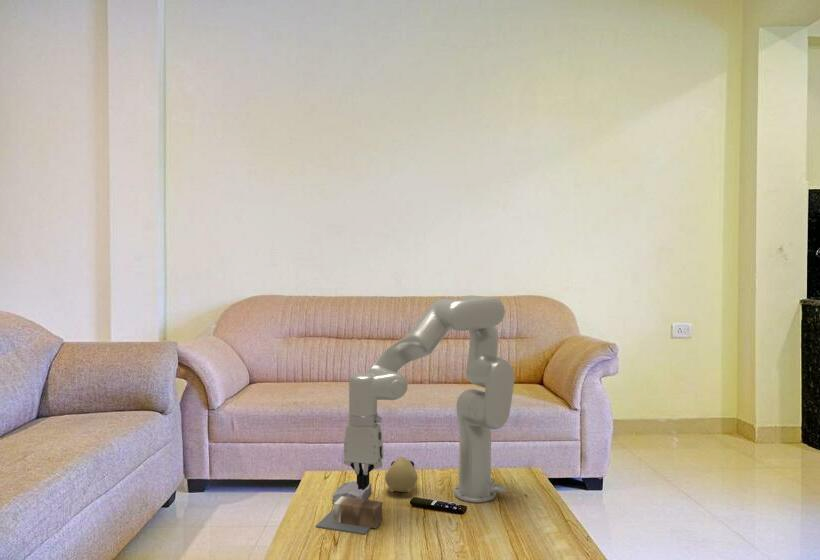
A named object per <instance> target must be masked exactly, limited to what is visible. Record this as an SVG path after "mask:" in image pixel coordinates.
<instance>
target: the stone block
mask: <svg viewBox="0 0 820 560" xmlns="http://www.w3.org/2000/svg"><path fill="white" fill-rule="evenodd" d="M372 489H373V488H372V483H371V482H369V485H368V487H367V488H366V489H365V490H362V489H358V485H357V480H352V481H347V482H344V483H342V484H341V485H340V486H338V487H337V488H336V490H335V492H334V493H333V494H332V501H333V504H334V503H335V502H336V501H337V500H338V499H339V498H340V497H341V496H343V497H351V498H358V499H366V500H368V499H369V497H370V495H371V493H372Z"/></svg>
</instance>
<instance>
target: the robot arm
mask: <svg viewBox="0 0 820 560" xmlns="http://www.w3.org/2000/svg"><path fill="white" fill-rule="evenodd" d="M505 309H506V308H505V306H504V304H503V302H502V301H501V300H500V299H498V298H496V297H493V296H482V295H465V296H463V297H461V298H459V299H451V298H450V299H449V298H438V299H436V300H434V302H432V304H431V305H430V306H429V307H428V308H427V310H426V311H424V313H423V314H422V315H421V317H420V318H419V320H418V321H417V322H416V323H415V325H414V326H413V327H412V328H411V330H410V331H409V332H408V333H407V334H406V335H405V336H404V337H402V338H401V339H399V340H397V341H396V342H395V343H393V344H392V345H390V346H389V347H388V348H387V349H386V350H384V351H383V352H382V353H381V354H380V355H379V357H378V358H376V360H375V361H374V362H373V363H372V365H371V366H370V367H369V369H368V371H367V372H355V373H353V374H351V375H350V376H349V379H348V423H347V424H346V427H345V431H344V432H345V433H344V439H343V458H344V459H343V464H344V465H347V466H348V467H351V468H352V469H353V471H354V473H355V475H356V481H357V485H358V489H362V490H365V489H366V488H367V487H368V485H369V483H370V472H371V471H372V470H377V469H381V468H382V467H383V461H382V460H383V459H384V454H385V453H384V440H383V432H382V428H381V427H382V426H381V424H380V423H382V422H383V416H379V414H378V401H382V400H383V401H396V400H399V399H401V398H402V397H404V396H405V395H406V393H407V391H408V387H409V386H408V385H409V384H408V380H407V378H405V376H403V374H401V373H400V372H398V371H399V370H400V369H401V368H402V367H404V366H405V365H407V364H409V363H410V362H413V361H416V360H419V359H422V358H425V357H427V356H430V355H431V354H432V353H433V352H434V351H435V349H436V347H437V346H438V345H439V343H441V341H442V340H443V338H444V337H445V336H446V334H447V333H448V332H449V331H450V330H453V331H457V332H458V331H461V332H462V331H463V332H464V331H468V333H469V348H468V354H467V360H466V361H467V363H466V369H465V370H466V371H465V375H466V379H467V380H468V382H469V383H471V384H473V385H475V386H477V387H481V388H484V391H482V390H479V389H473V388H471V389H465V390H464V391H462V392H461V393H460V394H459V396H458V398H457V401H456V405H455V406H456V415H457V419H458V429H459V430H458V431H459V447H458V448H459V451H458V452H459V455H458V456H459V457H458V459H459V463H458V464H459V465H458V466H459V467H458V469H459V471H458V474H459V475H458V476H459V477H458V483H459V484H458V485H456V486H455V488H454V489H453V490H454V491H453V493H454V496H455V497H456V498H457V499H459V500H461V501H465V502H470V503H487V502H490V501H492V500H494V499H495V498H497V497H496V496H497V493H498V494H502V495H503V494H506V491H507V490H506V489H507V487H506V486H504V485H503V484H502V483H496V482H494V478H493V477H492V432H491V430H499V429H501V428H503V427H504V426H505V425H506V423H507V421H508V420H509V418H510V417H509V416H510V413H511V407H512V406H511V405H512V401H513V400H512V399H513V392H514V386H515V373H514V369H513V366H512V365H511V364H510V362H509V361H507V360H506V359H504V358H502V357H498V349H499V348H498V347H499V335H498V330H497V328H496V326H498V325H499V324H500V323H502V321H504V317H505V313H506V310H505Z"/></svg>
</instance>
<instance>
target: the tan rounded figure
mask: <svg viewBox="0 0 820 560" xmlns="http://www.w3.org/2000/svg"><path fill="white" fill-rule="evenodd" d="M384 480H385V483H386V485H387V486H388V487H389V492H391V493H394V492H399V493H402V492H407V493H411V492H412V491H413V489H414V487H415V486H416V483H417V482H418V473H417V471H416V468H415V462H414V461H412V460H410V459H407V458H405V457H404V456H399V457H398V458H397V459H395V460H393V461H391V463H390V467H389V468H388V470H387V472H386V474H385V476H384Z"/></svg>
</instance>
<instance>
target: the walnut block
mask: <svg viewBox="0 0 820 560" xmlns="http://www.w3.org/2000/svg"><path fill="white" fill-rule="evenodd" d="M333 509H334V522H338V523H344V524H351V525H358V526H365V527H371V528H370V529H372V528H373V529H376V528H377V527H378V526H379V524H381V522H382V521H383V501H381V500H374V499H367V500H366V499H358V498H351V497H343V496H341V497H340V498H339V499H338V500H337V501H336V502H335V503H334V502H333Z"/></svg>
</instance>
